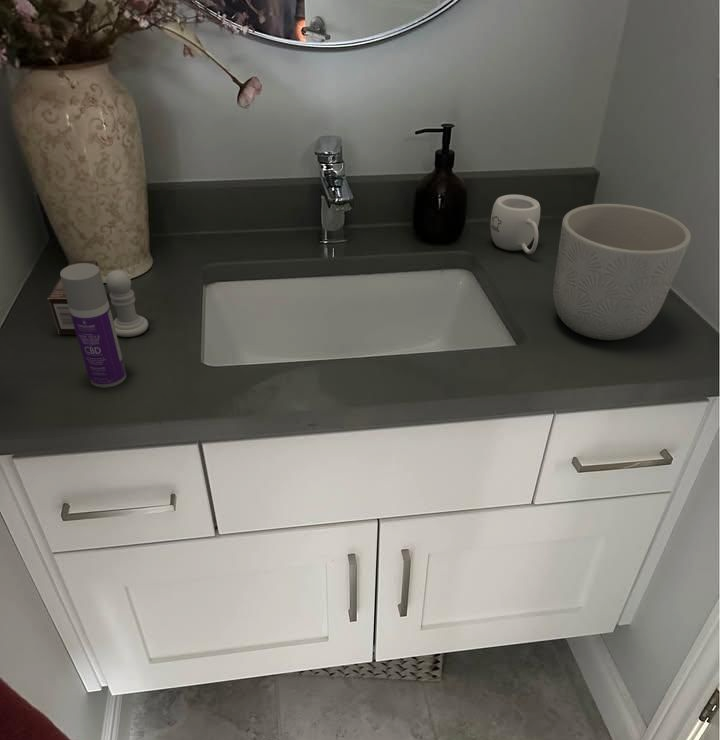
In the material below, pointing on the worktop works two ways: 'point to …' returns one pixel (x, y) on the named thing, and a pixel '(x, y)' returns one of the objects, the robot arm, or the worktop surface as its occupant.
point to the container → (93, 324)
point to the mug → (515, 222)
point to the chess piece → (124, 305)
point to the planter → (615, 268)
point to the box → (63, 306)
